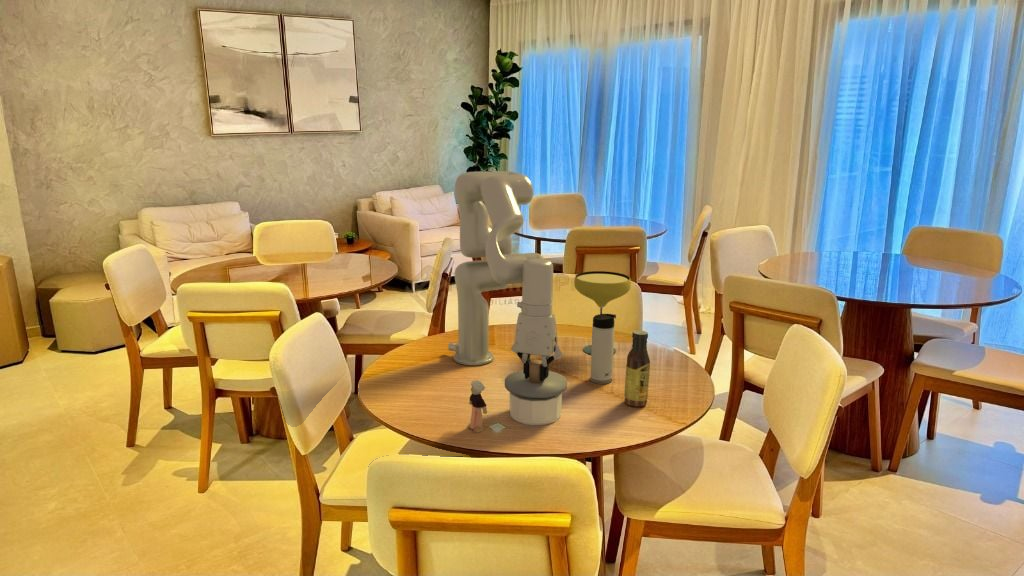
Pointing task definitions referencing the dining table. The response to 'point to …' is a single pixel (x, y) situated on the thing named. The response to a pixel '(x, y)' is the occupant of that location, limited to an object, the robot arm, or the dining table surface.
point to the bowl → (535, 409)
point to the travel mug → (602, 348)
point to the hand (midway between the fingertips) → (535, 377)
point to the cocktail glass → (601, 289)
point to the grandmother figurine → (477, 406)
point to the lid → (535, 382)
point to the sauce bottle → (637, 371)
